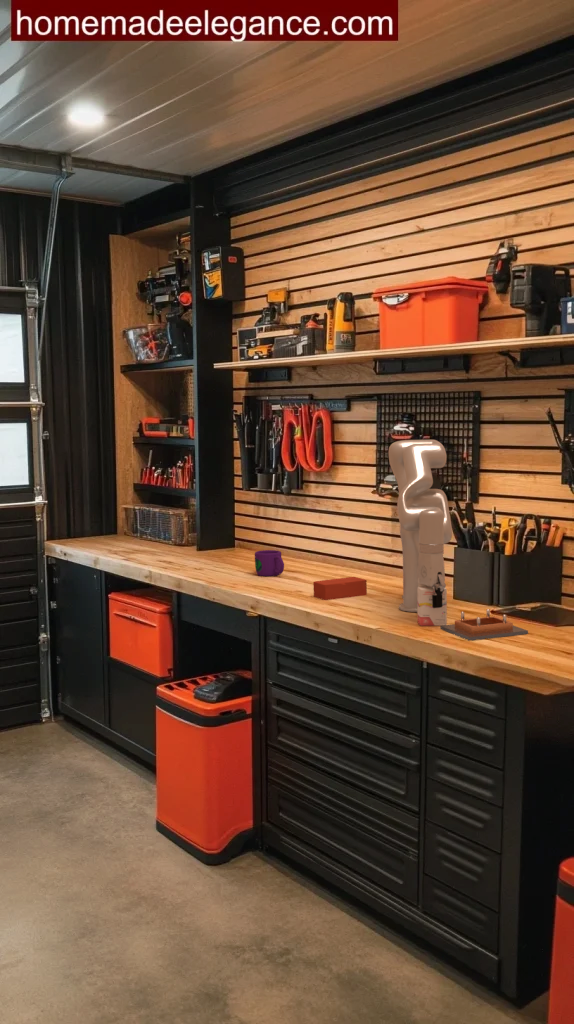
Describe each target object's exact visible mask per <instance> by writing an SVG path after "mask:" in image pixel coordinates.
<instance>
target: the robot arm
mask: <svg viewBox="0 0 574 1024" xmlns="http://www.w3.org/2000/svg"><path fill="white" fill-rule="evenodd" d="M388 460H389V465H390V468H391V471H392V474H393V475H394V477H395V480H396V483H397V487H398V488H397V489H398V497H397V505H396V507H397V515H398V520H399V521H398V522H399V534H400V540H401V549H402V551H401V552H402V591H403V592H402V595H401V599H402V600H403V601H402V603H400V604H399V605H398V609H399V610H400V611H402V612H403V611H404V612H408V613H409V612H410V613H411V612H412V613H418V578H419V583H421V584H423V585H426V586H430V587H432V589H433V594H434V595H432V607H433V608H440V607H442V595H443V591H444V588H446V587H447V586H446V582H445V581H446V579H445V578H446V575H445V574H446V573H445V560H444V553H445V552H444V550H445V549H444V547H445V544H448V543H449V542H451V540H452V537H453V527H452V521H451V515H450V508H449V502H448V497H447V495H446V493H445V492H444V490H442V489H440V488H439V489H438V488H431V487H433V484H434V479H433V473H432V469H441V468H444V467H445V466H446V463H447V452H446V449H445V446H444V445H443V444H442V443H441V442H440V441H438V440H436V439H405V440H404V439H403V440H397V441H395V442H393V443H391V444H390V446H389V448H388ZM435 584H437V585H435ZM436 587H439V588H437V590H436Z"/></svg>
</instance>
